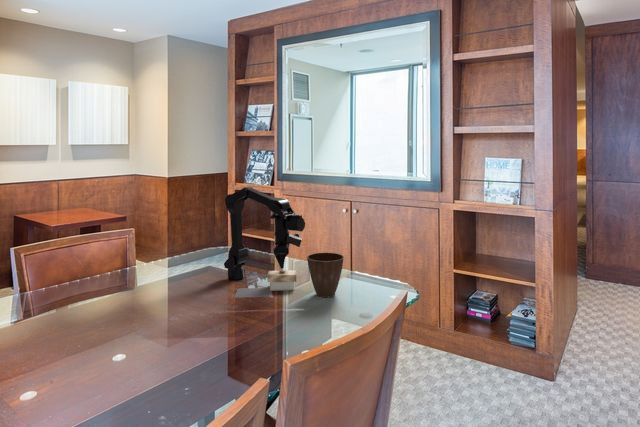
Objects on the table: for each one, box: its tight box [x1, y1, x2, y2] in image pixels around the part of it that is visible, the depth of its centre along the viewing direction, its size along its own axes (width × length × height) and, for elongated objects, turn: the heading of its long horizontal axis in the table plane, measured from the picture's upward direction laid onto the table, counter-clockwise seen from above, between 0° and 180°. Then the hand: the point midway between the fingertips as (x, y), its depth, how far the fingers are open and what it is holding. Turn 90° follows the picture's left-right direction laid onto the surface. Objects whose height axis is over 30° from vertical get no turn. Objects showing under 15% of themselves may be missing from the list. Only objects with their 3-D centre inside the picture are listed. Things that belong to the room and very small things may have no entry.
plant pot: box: [306, 252, 344, 298], centre depth 195 cm, size 15×15×16 cm
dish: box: [269, 282, 295, 292], centre depth 204 cm, size 10×8×4 cm
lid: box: [267, 269, 297, 283], centre depth 203 cm, size 12×7×4 cm, turn 92°
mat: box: [233, 287, 271, 299], centre depth 197 cm, size 14×12×1 cm
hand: (282, 265), depth 202 cm, fingers open, 9 cm apart
